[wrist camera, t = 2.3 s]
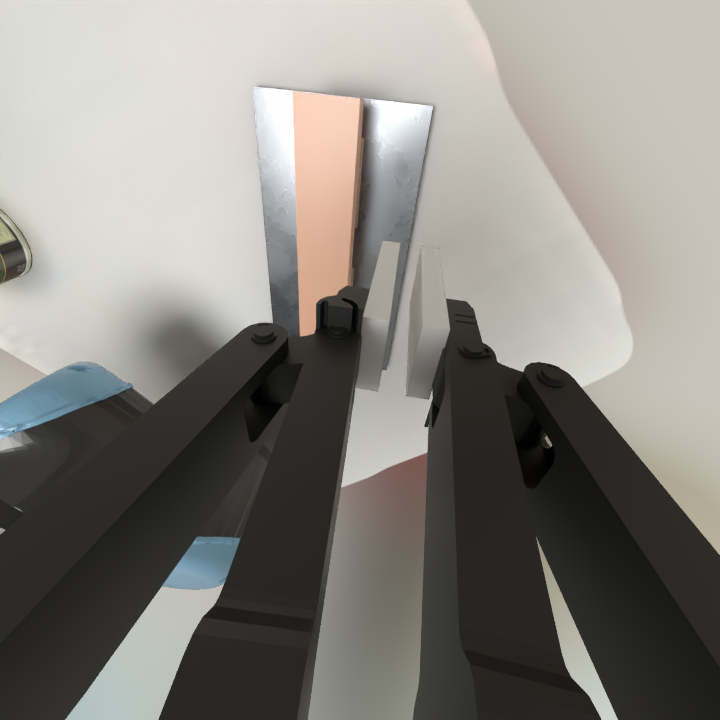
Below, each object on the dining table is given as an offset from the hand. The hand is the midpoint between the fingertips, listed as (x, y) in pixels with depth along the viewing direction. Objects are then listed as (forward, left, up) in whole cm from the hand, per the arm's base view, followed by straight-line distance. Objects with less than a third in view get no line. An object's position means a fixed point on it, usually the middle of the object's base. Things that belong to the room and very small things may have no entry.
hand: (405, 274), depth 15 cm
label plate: (-7, +7, -18) cm, 21 cm away
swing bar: (-7, +7, -14) cm, 17 cm away
